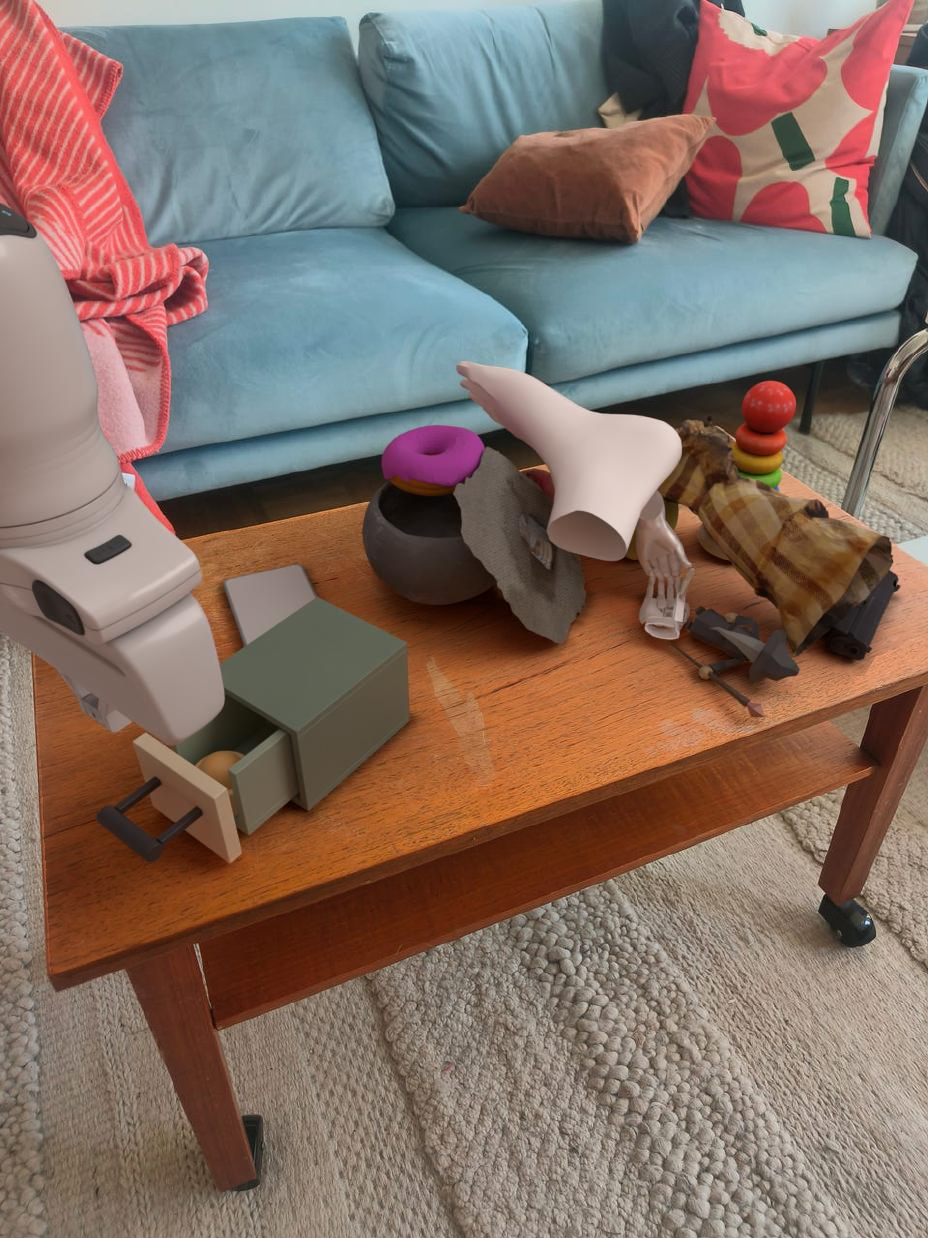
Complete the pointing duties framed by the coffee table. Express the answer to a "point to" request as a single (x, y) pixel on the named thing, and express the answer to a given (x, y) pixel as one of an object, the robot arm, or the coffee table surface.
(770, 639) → the wizard figurine
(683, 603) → the pair of sculpted hands
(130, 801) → the drawer
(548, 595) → the grey jagged rock slab
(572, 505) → the foot model
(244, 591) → the smartphone
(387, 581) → the bowl
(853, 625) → the handgun
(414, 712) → the coffee table surface
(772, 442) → the stacking toy
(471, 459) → the donut
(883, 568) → the brown striped robed figure
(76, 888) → the coffee table surface
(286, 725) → the cabinet
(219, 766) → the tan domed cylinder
